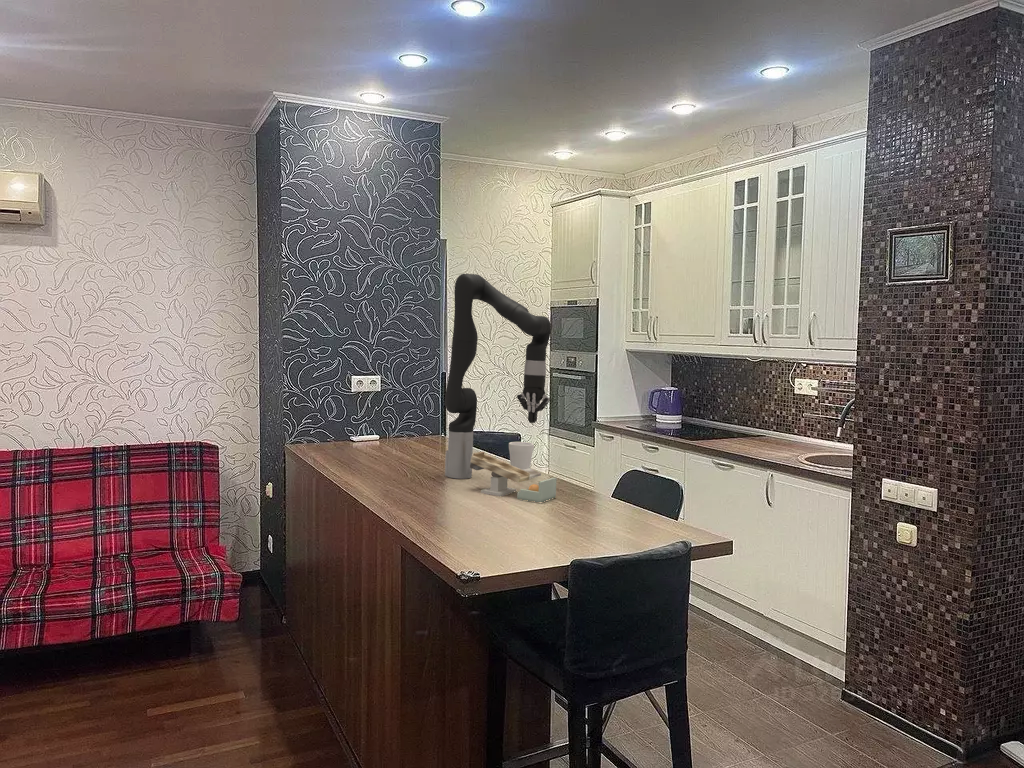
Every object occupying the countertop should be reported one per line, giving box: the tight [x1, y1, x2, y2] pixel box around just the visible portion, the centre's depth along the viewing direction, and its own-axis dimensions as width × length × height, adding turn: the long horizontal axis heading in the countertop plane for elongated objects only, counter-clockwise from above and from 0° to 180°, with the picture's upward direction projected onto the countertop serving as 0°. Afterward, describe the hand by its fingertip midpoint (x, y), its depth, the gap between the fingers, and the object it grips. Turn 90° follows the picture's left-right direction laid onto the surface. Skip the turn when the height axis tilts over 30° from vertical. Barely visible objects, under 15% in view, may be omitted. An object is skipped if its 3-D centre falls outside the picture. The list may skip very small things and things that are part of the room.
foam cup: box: [508, 441, 535, 470], centre depth 296 cm, size 10×9×13 cm
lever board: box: [470, 451, 542, 484], centre depth 273 cm, size 20×15×5 cm
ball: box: [527, 483, 539, 492], centre depth 262 cm, size 4×4×4 cm
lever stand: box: [480, 475, 517, 497], centre depth 270 cm, size 8×10×6 cm
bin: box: [516, 477, 557, 503], centre depth 262 cm, size 9×10×7 cm
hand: (532, 422), depth 275 cm, fingers closed
